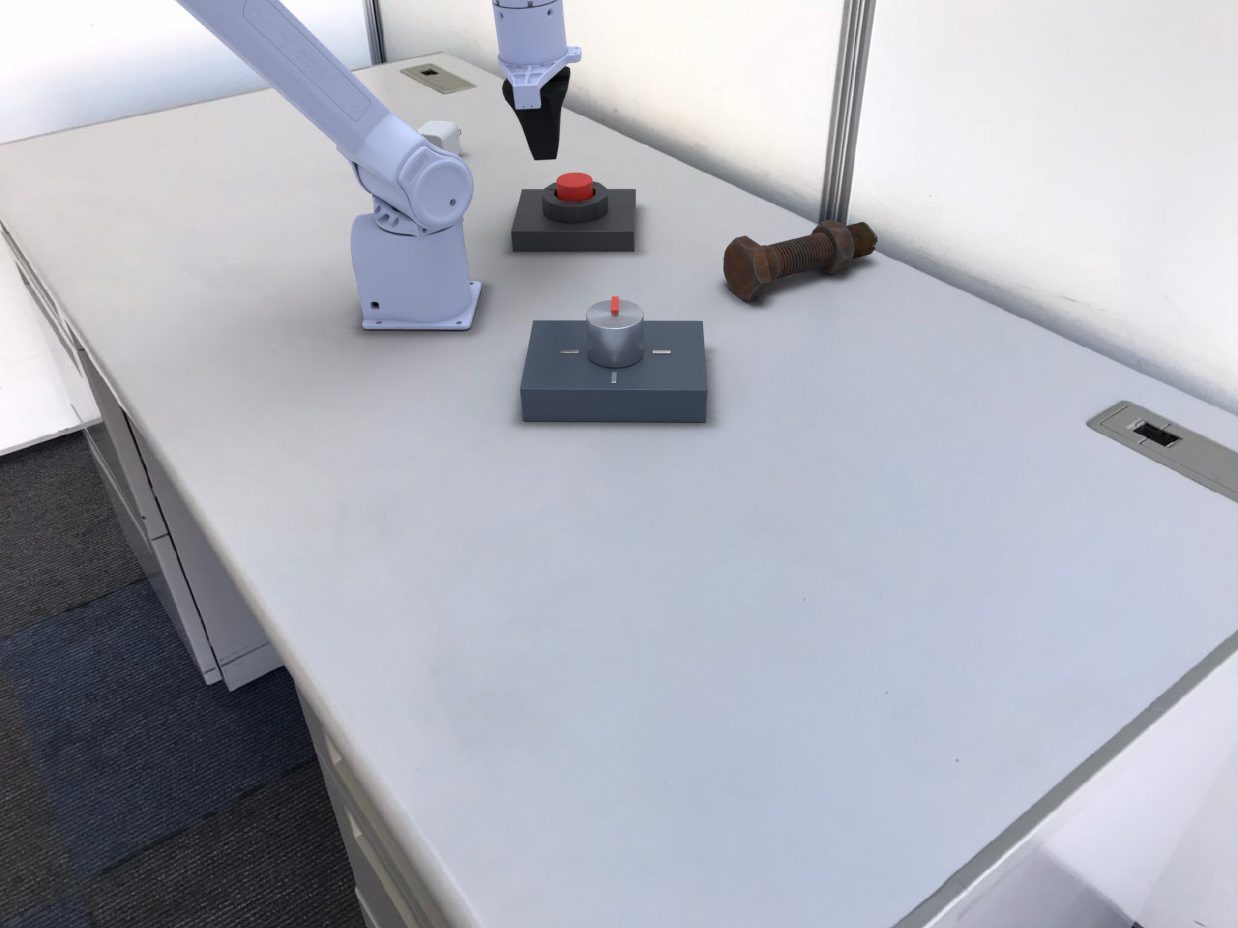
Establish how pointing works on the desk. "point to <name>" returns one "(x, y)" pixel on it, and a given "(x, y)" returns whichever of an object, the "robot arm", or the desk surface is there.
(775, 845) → the desk surface
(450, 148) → the usb wall charger
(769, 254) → the bolt
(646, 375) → the valve panel
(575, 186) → the button
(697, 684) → the desk surface
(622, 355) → the rotary knob
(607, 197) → the button base
